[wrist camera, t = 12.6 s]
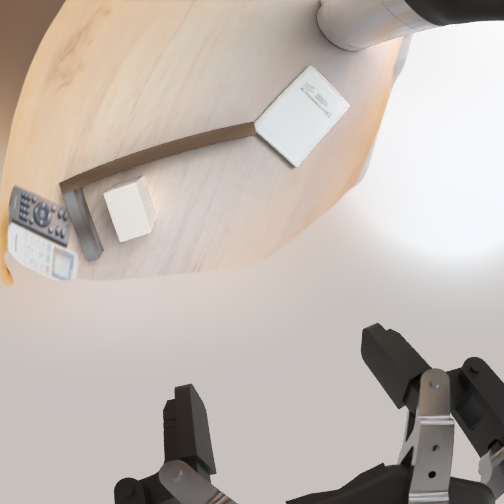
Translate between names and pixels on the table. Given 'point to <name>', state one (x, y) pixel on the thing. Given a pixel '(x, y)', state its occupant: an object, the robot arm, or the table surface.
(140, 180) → the block
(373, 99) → the table surface
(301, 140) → the external hard drive
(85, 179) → the guide fence
